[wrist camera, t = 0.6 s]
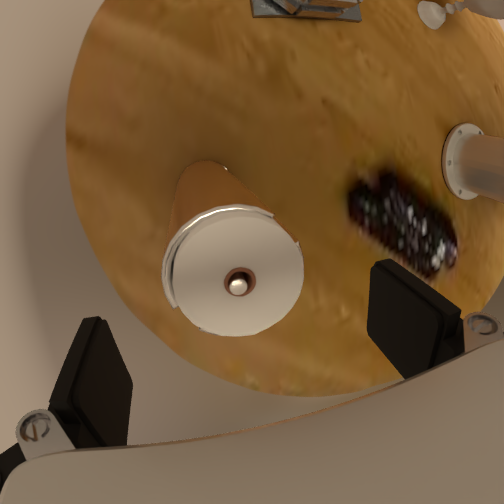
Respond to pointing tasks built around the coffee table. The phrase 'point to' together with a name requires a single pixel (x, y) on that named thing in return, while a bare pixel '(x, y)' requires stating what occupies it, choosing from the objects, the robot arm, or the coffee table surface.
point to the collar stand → (308, 9)
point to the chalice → (484, 3)
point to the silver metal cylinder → (228, 255)
